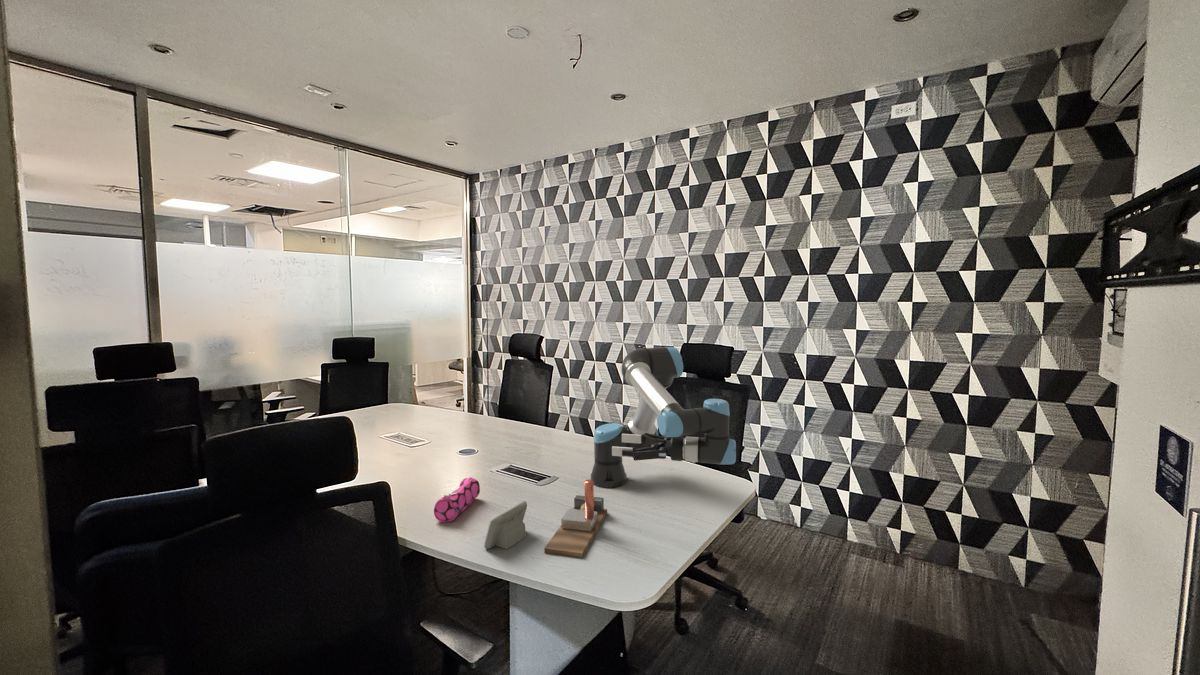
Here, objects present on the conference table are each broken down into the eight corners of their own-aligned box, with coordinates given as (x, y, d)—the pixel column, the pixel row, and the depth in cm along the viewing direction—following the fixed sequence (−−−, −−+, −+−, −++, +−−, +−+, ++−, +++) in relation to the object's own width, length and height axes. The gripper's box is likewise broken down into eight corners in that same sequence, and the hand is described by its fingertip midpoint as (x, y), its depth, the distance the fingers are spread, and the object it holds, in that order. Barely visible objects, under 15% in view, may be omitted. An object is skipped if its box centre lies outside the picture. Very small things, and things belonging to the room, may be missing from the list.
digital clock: (519, 526, 161) (518, 496, 160) (536, 535, 155) (535, 504, 154) (477, 545, 150) (476, 513, 149) (494, 556, 143) (492, 522, 142)
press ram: (590, 531, 154) (589, 486, 152) (561, 528, 156) (560, 483, 155) (597, 520, 161) (596, 477, 160) (569, 516, 164) (568, 474, 163)
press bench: (582, 558, 141) (581, 538, 141) (544, 552, 145) (543, 534, 144) (607, 513, 170) (607, 496, 170) (575, 509, 173) (575, 493, 173)
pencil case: (459, 525, 163) (458, 497, 162) (433, 523, 165) (431, 495, 164) (483, 498, 184) (482, 473, 184) (459, 497, 186) (458, 472, 185)
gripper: (680, 475, 135) (607, 469, 141) (687, 448, 159) (625, 443, 165) (679, 449, 135) (607, 444, 140) (687, 426, 159) (625, 422, 164)
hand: (617, 444), depth 153 cm, fingers open, 13 cm apart
